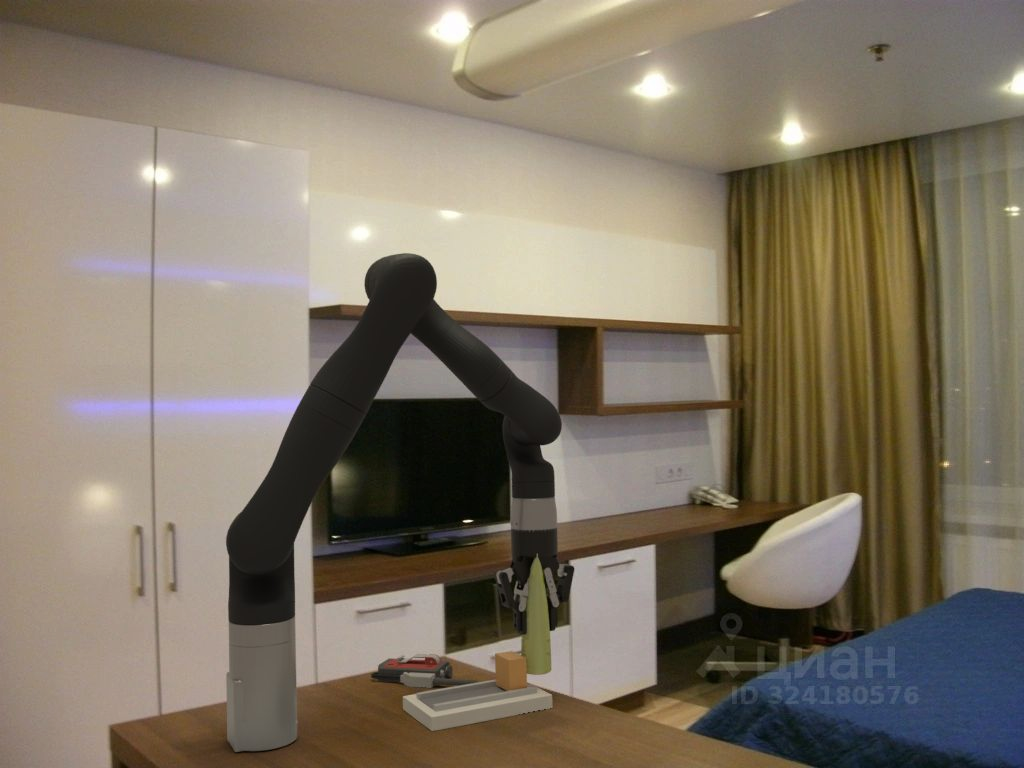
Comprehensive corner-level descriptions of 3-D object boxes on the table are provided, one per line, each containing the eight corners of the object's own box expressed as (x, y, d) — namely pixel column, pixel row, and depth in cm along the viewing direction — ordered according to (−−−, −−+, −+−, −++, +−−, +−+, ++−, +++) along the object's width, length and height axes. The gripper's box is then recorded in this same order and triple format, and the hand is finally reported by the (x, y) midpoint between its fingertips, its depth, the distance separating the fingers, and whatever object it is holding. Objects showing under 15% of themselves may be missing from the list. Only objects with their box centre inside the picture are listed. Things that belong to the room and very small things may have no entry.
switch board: (432, 731, 133) (431, 711, 133) (402, 709, 143) (402, 691, 144) (552, 708, 142) (551, 689, 142) (516, 689, 153) (516, 671, 153)
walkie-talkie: (365, 687, 158) (476, 693, 152) (364, 661, 158) (475, 666, 152) (386, 673, 166) (491, 678, 161) (385, 648, 166) (491, 653, 161)
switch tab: (510, 692, 143) (509, 660, 143) (495, 684, 147) (495, 653, 147) (527, 689, 144) (526, 657, 144) (512, 681, 148) (511, 651, 149)
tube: (561, 671, 148) (558, 549, 148) (539, 678, 144) (537, 552, 145) (535, 665, 151) (532, 546, 152) (513, 672, 148) (511, 549, 149)
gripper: (504, 530, 142) (506, 642, 141) (583, 524, 149) (586, 631, 148) (484, 526, 149) (485, 632, 148) (560, 520, 155) (562, 622, 155)
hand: (536, 631), depth 148 cm, fingers closed on tube, 4 cm apart
